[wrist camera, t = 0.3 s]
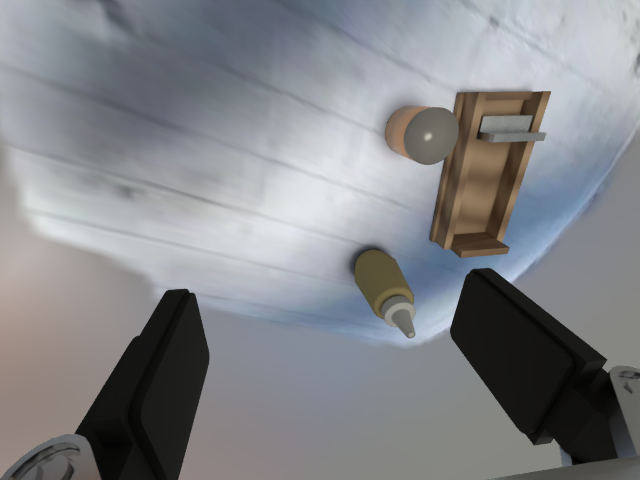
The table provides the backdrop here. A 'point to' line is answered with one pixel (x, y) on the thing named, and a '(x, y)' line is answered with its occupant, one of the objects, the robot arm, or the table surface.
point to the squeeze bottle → (386, 289)
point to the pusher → (507, 129)
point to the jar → (422, 133)
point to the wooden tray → (483, 174)
